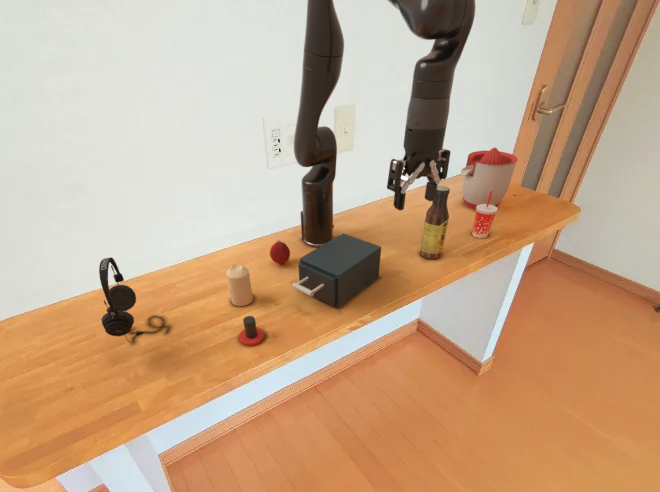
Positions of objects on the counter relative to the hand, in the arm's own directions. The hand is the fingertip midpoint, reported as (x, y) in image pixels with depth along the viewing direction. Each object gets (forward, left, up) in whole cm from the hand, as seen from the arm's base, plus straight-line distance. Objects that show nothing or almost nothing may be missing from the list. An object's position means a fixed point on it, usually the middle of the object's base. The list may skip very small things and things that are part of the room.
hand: (414, 204), depth 83 cm
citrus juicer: (-8, +66, -25) cm, 71 cm away
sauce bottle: (-4, +23, -25) cm, 34 cm away
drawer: (-15, -10, -23) cm, 30 cm away
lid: (-17, -36, -24) cm, 46 cm away
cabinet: (-15, -6, -24) cm, 29 cm away
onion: (-35, -9, -25) cm, 44 cm away
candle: (-30, -28, -25) cm, 48 cm away
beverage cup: (+2, +44, -25) cm, 51 cm away
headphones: (-37, -52, -25) cm, 68 cm away
